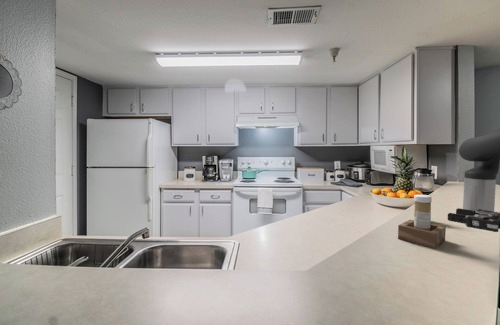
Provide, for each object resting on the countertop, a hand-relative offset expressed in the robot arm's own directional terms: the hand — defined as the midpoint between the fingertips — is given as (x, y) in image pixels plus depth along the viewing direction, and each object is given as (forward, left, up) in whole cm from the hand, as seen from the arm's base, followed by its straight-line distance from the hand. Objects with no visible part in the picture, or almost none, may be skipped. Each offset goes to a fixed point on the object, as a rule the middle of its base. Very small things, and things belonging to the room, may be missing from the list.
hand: (452, 214), depth 72 cm
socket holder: (0, -8, -10) cm, 13 cm away
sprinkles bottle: (0, -8, -9) cm, 12 cm away
